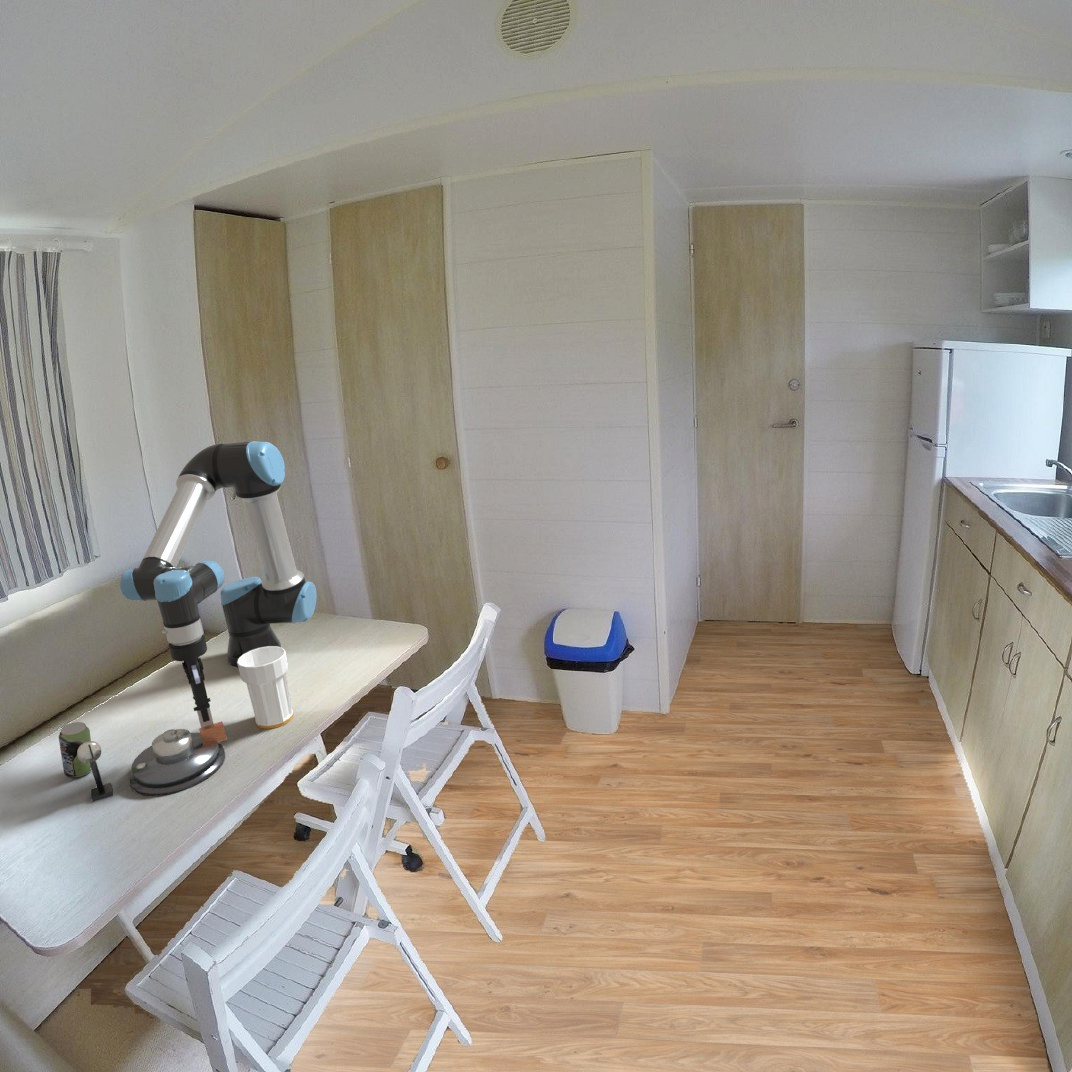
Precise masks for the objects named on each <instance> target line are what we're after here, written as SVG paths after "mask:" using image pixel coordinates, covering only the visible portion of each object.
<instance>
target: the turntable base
mask: <svg viewBox="0 0 1072 1072" xmlns="http://www.w3.org/2000/svg"><path fill="white" fill-rule="evenodd" d="M218 746H219V750H220V754H219V757H218V759H217V761H216V762H215V763H214V764H213V765H212V766H211V767H210V768H209V769H208V770H206V771H205V772H203V773H202V774H200V775H198V776H196V777H195V778H192V779H190V780H188V781H185V782H183V783H180V784H176V785H172V786H168V787H161V788H149V787H144V786H141V785H139V784H137V783H136V782H135V780H134V777H133V773H132V771H131V772H130V774H129V777H128V781H129V785H130V788H131V789H132V790H133V791H134V792H135V793H136V794H139V795H142V796H148V797H149V796H151V797H157V796H166V795H171V794H175V793H180V792H182V791H185V790H188V789H191V788H193V787H195V786H197V785H199V784H201V783H203V782H205V781H206V780H208V779H210V777H212V776H214V775H215V774H216V773H217V772H218V771H219V770H220V769H221V767H222V766H223V764H224V763H225V760H226V751H225V748H224V746H223V745H222V744H221V743H220V742H218Z"/></svg>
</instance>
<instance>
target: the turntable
mask: <svg viewBox="0 0 1072 1072" xmlns="http://www.w3.org/2000/svg"><path fill="white" fill-rule="evenodd" d="M198 729H199V732H190V734H191V738H192V742H193V746H194V751H193V753H192V754H191V755H190V756H189V757H187V758H186V759H184V760H182V761H180V762H177V763H173V764H168V765H162V764H159V763H157V762H156V759H155V755H154V751H153V748H152V745H150V746H149V747H147V748H146V749H144V750H143V751H142V752H140V753H139V754H138V755H137V756H136V757H135V759H134V760H133V761H132V764H131V772H132V773H133V777H134V780H135V782H136V783H137V784H139V785H141V786H144V787H149V788H161V787H168V786H172V785H176V784H180V783H183V782H185V781H188V780H190V779H192V778H195V777H196V776H198V775H200V774H202V773H203V772H205V771H206V770H208V769H209V768H210V767H211V766H212V765H213V764H214V763H215V762H216V761H217V759H218V757H219V754H220V750H219V746H218V743H220V742H223V741H226V740H227V739H228V738H227V733H226V730H225V726H224V722H223V721H222V720H221V721H218V722H216V723H214V724H212V725H209V726H206V727H203V728H201V727H200V728H198Z"/></svg>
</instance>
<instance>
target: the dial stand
mask: <svg viewBox="0 0 1072 1072" xmlns="http://www.w3.org/2000/svg"><path fill="white" fill-rule="evenodd" d="M101 755H102V747H101V745H100V744H99V743H98V742H96V741H92V740H91V741H89V742H85V743H83V744H82V745H81V746H80V747H79V748H78V751H77V756H78V759H79V760H80V761H81V762H83V763H90V766H91V769H92V770H91V772H92V776H93V779H94V782H95V785H96V787H93V788H91V789H90V799H91V802H92V803H95V802H97V801H100V800H104V799H106V798H109V797H112V796H114V789H113V784H112V782H111V781H110V782H108V783H103V780H102V777H101V774H100V770H99V766H98V763H97V760H99V759H100V757H101Z"/></svg>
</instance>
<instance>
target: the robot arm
mask: <svg viewBox="0 0 1072 1072" xmlns="http://www.w3.org/2000/svg"><path fill="white" fill-rule="evenodd" d="M285 465H286V464H285V461H284V458H283V456H282V454H281V452H280V450H279V448H277V446H275V444H274V445H273V444H272V443H271V442H268V441H256V440H255V441H254V440H253V441H246V442H244V441H243V442H233V443H231V442H230V443H216V444H212V445H209V446H206V448H204V449H202V450H201V451H199V452H197V454H195V455H194V456H193V457H191V459H190V460H189V461H188V462H187V463H186V464H185V466H184V467H183V468H182V470H181V471H180V473H179V474H178V477H177V479H176V482H175V485H176V491H175V493H174V495H173V496H172V500H171V501H170V503H169V505H168V507H167V509H166V511H165V514H164V515H163V518H162V520H161V521H160V523H159V525H158V526H157V527H158V528H157V529H156V532H155V533H154V535H153V537H152V540H151V541H150V544H149V546H148V548H147V549H146V551H145V554H144V556H143V558H142V560H141V562H140V564H139V566H138V567H135V568H134V567H133V568H129V569H127V570H126V571H124V572H123V573H122V575H121V577H120V581H119V588H120V591H121V594H122V595H123V597H125V598H126V599H128V600H130V601H140V602H142V601H143V602H147V601H157V605H158V608H159V611H160V617H161V619H162V624H163V627H164V629H162V631H161V633H162V635H165V636H166V639H167V642H168V648H169V653H170V657H171V659H172V660H174V661H176V662H181V664H182V666H181V667H182V669H183V671H184V674H185V676H186V679H187V682H188V684H189V685H190V688H191V692H192V696H193V697H192V699H193V700H194V705H195V707H193V711H194V712H196V713H197V716H198V721H199V724H200V725H199V726H200V728H203V727H206V726H209V725H212V724H215V723H214V720H213V719H214V718H213V716H212V712H211V707H210V706H211V705H210V703H209V702H211V698H210V697H208V694H207V689H206V685H205V680H206V678H205V674H204V665H203V661H202V660H201V657H202V656H204V655H205V654H206V652H207V651H208V647H207V642H206V638H205V635H204V633H205V632H204V627H203V623H202V620H201V619H202V618H201V616H200V613H199V608H198V605H199V604H200V603H201V602H203V601H204V600H206V599H208V598H209V597H210V596H211V595H213V594H214V593H217V591H218V590H219V589H220V588H221V587H222V586H223V585H224V582H225V573H224V570H223V568H222V567H221V566H220V565H219V563H217V562H216V561H214V560H213V561H212V560H208V559H207V560H202V561H200V562H198V563H196V564H194V565H191V566H178V565H179V563H180V560H181V558H182V556H183V553H184V551H185V549H186V547H187V545H188V542H189V540H190V538H191V537H192V534H193V532H194V530H195V527H196V525H197V523H198V521H199V518H200V516H201V514H202V512H203V510H204V508H205V505H206V503H207V501H209V500H211V499H212V498H213V497H214V495H215V494H216V492H217V491H218V490H220V489H223V488H224V489H225V488H228V489H229V488H233V489H234V491H235V492H234V493H235V495H236V498H238V499H239V500H242V501H243V503H244V505H245V509H246V512H247V517H248V520H249V523H250V527H251V529H252V534H253V538H254V540H255V544H256V548H257V551H258V555H259V559H260V561H261V565H262V570H263V573H264V576H265V578H264V579H263V580H261V578H260V577H258V576H251V577H245V578H241V579H238V580H235V581H233V582H230V583H229V584H227V585H226V586H224V587H223V588H222V589H221V591H220V602H221V605H220V606H221V607H222V610H223V615H224V619H225V623H226V624H225V625H226V627H227V628H226V629H227V632H228V644H227V651H226V657H227V661H228V664H229V665H231V666H234V667H238V665H237V661H238V659H239V658H240V657H241V656H242V655H243V654H245V653H247V652H249V651H251V650H254V649H257V648H261V647H267V646H277V647H281V648H282V646H281V645H282V644H281V641H280V639H279V638H278V636H277V635H276V633H275V631H274V630H273V628H272V626H271V624H298V623H305V622H308V621H309V620H310V619H311V618H312V616H313V614H314V613H315V609H316V606H317V605H316V604H317V596H318V595H317V588H316V586H315V584H314V583H313V581H309V580H307V581H306V579H305V575H304V573H303V571H301V570H298V569H297V566H296V562H295V558H294V554H293V550H292V548H291V543H290V540H289V536H288V535H289V534H288V532H287V531H288V530H287V528H286V523H285V520H284V516H283V513H282V509H281V505H280V501H279V498H278V496H279V495H278V492H279V491H280V490H281V488H282V485H281V484H282V483H283V481H284V480H285V477H286V472H285V470H286V466H285Z"/></svg>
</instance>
